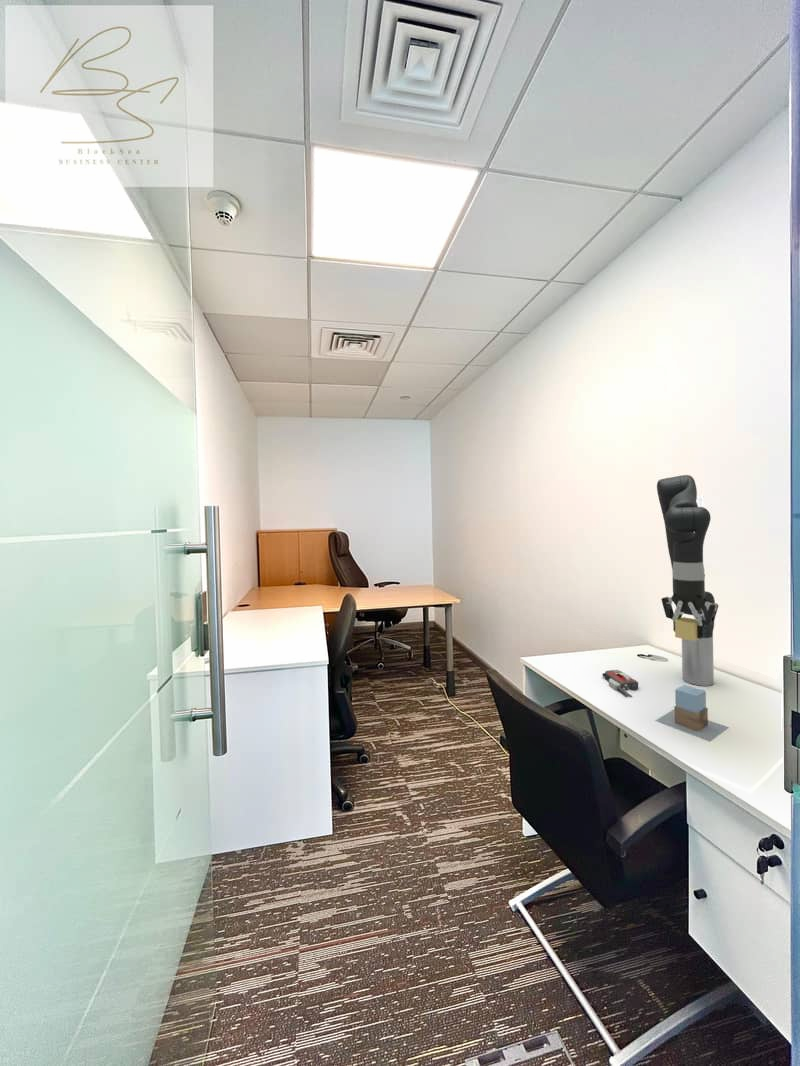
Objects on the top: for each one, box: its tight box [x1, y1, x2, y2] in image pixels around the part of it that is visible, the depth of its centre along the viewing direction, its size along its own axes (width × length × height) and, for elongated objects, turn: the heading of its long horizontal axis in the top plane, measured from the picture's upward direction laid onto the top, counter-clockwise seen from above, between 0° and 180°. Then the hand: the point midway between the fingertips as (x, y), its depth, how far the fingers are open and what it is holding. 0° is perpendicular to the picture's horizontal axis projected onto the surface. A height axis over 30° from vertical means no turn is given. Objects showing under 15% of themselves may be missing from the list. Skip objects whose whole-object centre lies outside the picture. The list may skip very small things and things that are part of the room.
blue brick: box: [674, 684, 707, 713], centre depth 119 cm, size 6×6×5 cm
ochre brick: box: [674, 616, 699, 641], centre depth 118 cm, size 5×5×5 cm
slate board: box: [655, 709, 730, 742], centre depth 119 cm, size 12×14×1 cm
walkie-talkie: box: [602, 669, 639, 698], centre depth 147 cm, size 9×4×20 cm
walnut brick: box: [673, 705, 709, 731], centre depth 119 cm, size 6×6×5 cm
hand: (689, 635), depth 118 cm, fingers closed on ochre brick, 5 cm apart
